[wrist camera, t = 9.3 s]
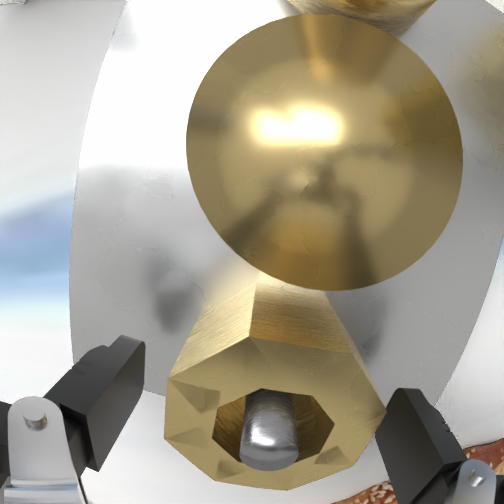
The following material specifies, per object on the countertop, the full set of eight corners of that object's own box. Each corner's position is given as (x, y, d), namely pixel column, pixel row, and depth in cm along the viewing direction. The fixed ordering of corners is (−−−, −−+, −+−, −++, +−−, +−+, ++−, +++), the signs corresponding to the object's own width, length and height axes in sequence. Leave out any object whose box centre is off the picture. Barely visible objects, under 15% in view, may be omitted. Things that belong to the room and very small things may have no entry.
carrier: (497, 25, 8) (563, -11, 2) (412, 412, 12) (453, 493, 7) (173, -61, 8) (138, -134, 2) (86, 350, 12) (17, 422, 7)
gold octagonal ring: (370, 304, 10) (412, 360, 6) (322, 425, 11) (334, 492, 8) (205, 271, 10) (172, 318, 6) (187, 402, 11) (163, 468, 8)
